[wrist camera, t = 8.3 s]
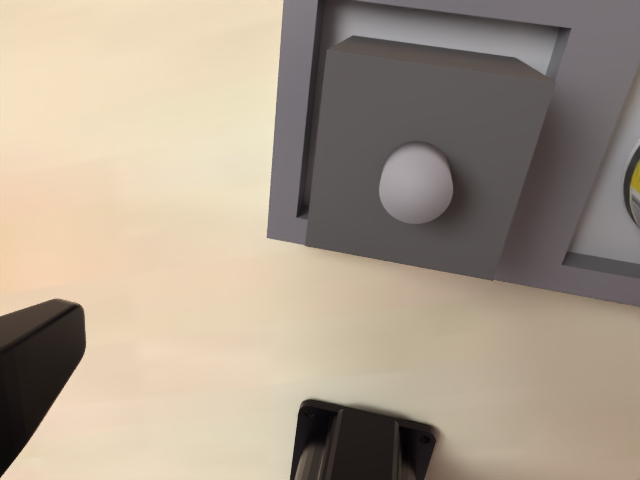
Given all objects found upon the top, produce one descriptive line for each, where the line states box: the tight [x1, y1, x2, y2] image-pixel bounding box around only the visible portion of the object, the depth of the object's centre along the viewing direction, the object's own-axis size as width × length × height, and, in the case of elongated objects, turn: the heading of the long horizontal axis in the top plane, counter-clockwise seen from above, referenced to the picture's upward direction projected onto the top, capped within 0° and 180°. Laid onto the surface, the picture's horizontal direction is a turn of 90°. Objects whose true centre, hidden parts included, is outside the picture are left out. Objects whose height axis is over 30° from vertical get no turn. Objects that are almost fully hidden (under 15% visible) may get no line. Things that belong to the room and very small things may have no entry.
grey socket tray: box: [267, 0, 640, 307], centre depth 16 cm, size 9×18×2 cm, turn 83°
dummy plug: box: [305, 35, 556, 280], centre depth 14 cm, size 5×5×6 cm
